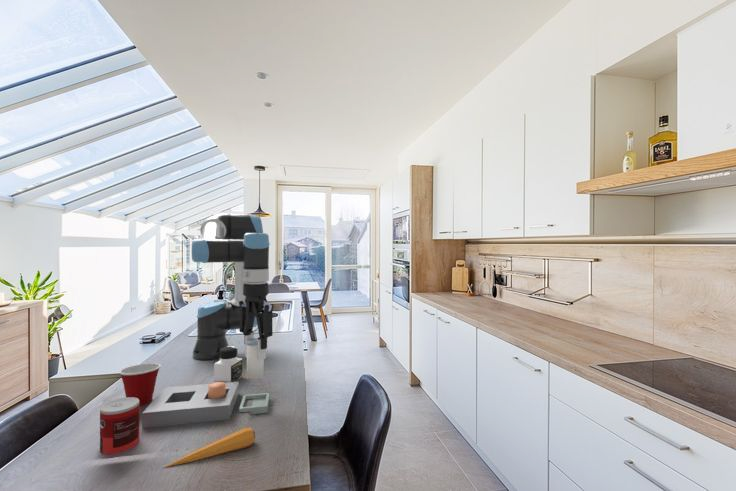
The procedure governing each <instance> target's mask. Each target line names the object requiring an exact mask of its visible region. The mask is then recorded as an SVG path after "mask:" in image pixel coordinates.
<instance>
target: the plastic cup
mask: <svg viewBox="0 0 736 491" xmlns="http://www.w3.org/2000/svg"><path fill="white" fill-rule="evenodd" d="M160 369H161V364H160V363H157V362H155V363H154V362H151V363H140V364H135V365H130V366H126V367H124V368H121V369H120V370H119V371H118V373H119V375H120V377H121V380H122V383H123V389H124V393H125V394H124V395H125V398H126V397H134V398H138V399H139V402H140V407H144V406H146V405H148V404H151V403H152V402H153V396H154V393H155V387H156V383H157V378H158V374H159V371H160Z"/></svg>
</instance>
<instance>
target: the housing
mask: <svg viewBox="0 0 736 491" xmlns="http://www.w3.org/2000/svg"><path fill="white" fill-rule="evenodd" d="M225 383H226V398H215V399H208V386H209V385H210V384H211V383H206V384H205V383H203V384H194V385H193V384H192V385H177V386H165V387H164V388H163V389H162V390H161V391H160V392H159V394H158V395H157V396H156V397H155V398H154V399H152V401H151V402H150V403H149V405H148V406H147V407H146V408H145V409H144V411H142V413H141V414H142V415H141V417H142V418H141V420H142V421H141V423H142V424H141V428H142V429H144V428H145V429H146V428H147V429H148V428H154V427H165V426H174V425H175V426H176V425H185V424H194V423H195V424H196V423H206V422H216V421H225V420H226V421H227V420H230V419H231V416H232V414H233V411H234V408H235V406H236V402H237V400H238V397H239V395H240V381H232V382H225Z"/></svg>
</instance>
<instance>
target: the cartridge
mask: <svg viewBox="0 0 736 491" xmlns="http://www.w3.org/2000/svg"><path fill="white" fill-rule="evenodd" d="M258 338H259V337H254V338H252V339H249V340H247V342H246V344H247V357H246V378H247V379H250V380H256V379H261V378H263V377H264V373H265V372H264V370H265V369H264V364H265V363H264V362H265V359H262V360H260V361H258V360H257V339H258Z"/></svg>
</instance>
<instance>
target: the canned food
mask: <svg viewBox="0 0 736 491" xmlns="http://www.w3.org/2000/svg"><path fill="white" fill-rule="evenodd" d="M140 409H141V406H140V402H139V399H138V398H134V397H126V396H125V397H121V398H117V399H113V400H110V401H108V402H106V403H104V404H103V405H102V406H101V407H100V410H99V452H100V453H101V454H104V455H115V454H121V453H123V452H126V451H128V450H130V449H132V448H133V447H135V446H136V445H138V443H139V442H140V422H141V421H140V419H141V418H140V416H141V415H140V414H141V413H140V411H141V410H140ZM108 458H111V456H109V457H108Z"/></svg>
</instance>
